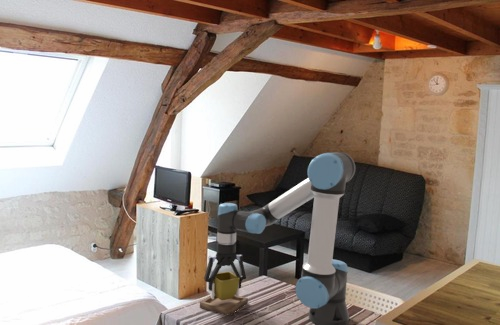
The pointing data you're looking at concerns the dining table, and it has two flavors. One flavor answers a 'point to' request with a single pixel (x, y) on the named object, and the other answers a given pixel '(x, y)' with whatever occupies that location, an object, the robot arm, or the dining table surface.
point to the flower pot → (225, 285)
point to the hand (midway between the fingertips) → (224, 297)
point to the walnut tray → (224, 304)
